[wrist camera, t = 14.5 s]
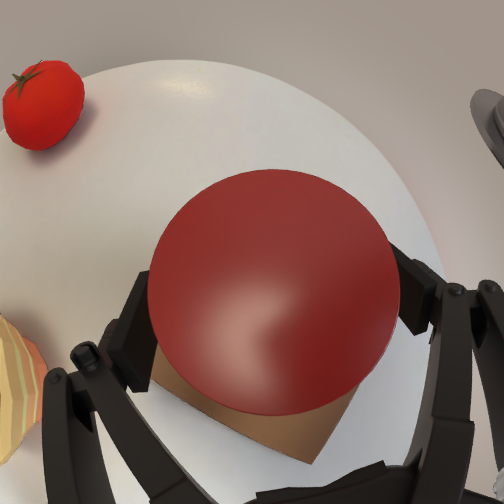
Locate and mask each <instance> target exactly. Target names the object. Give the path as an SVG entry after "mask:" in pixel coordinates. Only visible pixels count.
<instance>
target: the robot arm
mask: <svg viewBox="0 0 504 504" xmlns="http://www.w3.org/2000/svg"><path fill="white" fill-rule="evenodd" d="M493 115H494V119H495V122H496V124H497V127H498V129H499V131H500V132H501V134H502V136H503V138H504V97H503V98H501V99H500V100H499V101H498V102H497V104H496V105H495V107H494V109H493ZM389 243H390V242H389ZM390 245H391V248H392V251H393V253H394V256H395V259H396V263H397V268H398V273H399V280H400V306H399V312H398V316H399V317H400V319H401V320H402V321H403V322H404V324H405V325H406V326H407V327H408V329H409V330H410V331H411V333H412V334H413V335H414V336H416V335H418V334H421V333H423V332H426V331H427V328H428V324H429V321H430V323H431V324H432V325H433V330H432V334H431V337H430V341H429V344H431V346H430V354H429V362H428V368H427V375H426V381H425V386H424V392H423V397H422V402H421V407H420V411H419V415H418V420H417V424H416V428H415V432H414V435H413V439H412V443H411V446H410V449H409V452H408V455H407V457H406V459H405V461H404V463H403V466H402V465H389V466H385V463H384V461H383V460H382V461H379V462H377V463H374V464H371V465H368V466H366V467H363V468H360V469H357V470H354V471H352V472H350V473H349V474H347V475H345V476H343V477H342V478H340V479H338V480H336V481H334V482H332V483H330V484H328V485H326V486H324V487H287V488H281V489H276V490H269V491H262V492H256V497H257V498H256V499H253V500H251V501H248V502H246V503H244V504H504V292H503V290H502V289H501V287H500V286H499V285H498V284H497V283H496V282H494V281H491V280H482V281H481V282H479V285H478V289H477V290H466V288H465V287H464V286H462V285H460V284H457V283H447V282H446V281H444V280H443V279H442V278H441V277H440V276H439V275H438V274H436V273H435V272H433V270H432V269H430V268H429V267H428V266H427V265H426V264H424V263H423V262H421V261H419V260H416V259H413V260H411V259H410V258H409V257H407V256H406V255H405V254H404V253H403V252H401V251H400V250H399V249H398V248H397V247H395V246H394V245H393V244H392V243H390ZM148 277H149V270H148V271H143V272H140V273H139V275H138V277H137V279H136V281H135V284H134V286H133V288H132V290H131V292H130V294H129V297H128V299H127V301H126V303H125V305H124V308H123V310H122V312H121V314H120V317H119V318H118V319H113V320H112V321H111V322H110V323H109V324H108V325H107V327H106V329H105V331H104V334H103V336H102V339H101V340H100V342H99V345H98V347H96V345H95V344H94V343H93V342H90V341H86V342H83V343H80V344H78V345H77V346H76V347H75V348H74V349H73V350H72V351H71V354H70V359H71V360H72V362H73V363H74V365H75V366H76V368H77V369H78V370H79V371H76V372H73V373H70V374H67V372H66V371H65V370H64V369H63V368H60V367H58V368H54V369H52V370H50V371H49V372H48V373H47V374H46V376H45V377H44V381H43V397H42V449H43V465H44V475H45V484H46V492H47V498H48V504H116V503H115V499H114V496H113V493H112V490H111V486H110V483H109V479H108V475H107V472H106V468H105V464H104V460H103V455H102V451H101V446H100V441H99V436H98V431H97V426H96V420H95V414H94V411H97V412H98V414H99V416H100V418H101V420H102V422H103V424H104V426H105V428H106V430H107V431H108V433H109V435H110V437H111V439H112V440H113V442H114V444H115V446H116V447H117V449H118V451H119V453H120V454H121V456H122V457H123V459H124V461H125V462H126V464H127V466H128V467H129V469H130V470H131V472H132V473H133V475H134V476H135V478H136V479H137V481H138V482H139V484H140V485H141V486H142V488H143V489H144V491H145V492H146V493H147V495H148V496H149V498H150V501H149V503H150V504H219V503H217V502H216V501H215V500H214V499H213V498H212V497H211V496H210V495H209V494H208V493H207V492H206V491H205V490H204V489H203V488H202V487H201V486H200V485H199V484H198V483H197V482H196V481H195V480H194V479H193V477H192V476H191V475H190V474H189V473H188V472H187V471H186V470H185V469H184V468H183V466H182V465H181V464H180V463H179V462H178V461H177V459H176V458H175V457H174V456H173V455H172V454H171V452H170V451H169V450H168V449H167V447H166V446H165V445H164V444H163V443H162V441H161V440H160V439H159V437H158V436H157V435H156V434H155V432H154V431H153V430H152V428H151V427H150V426H149V424H148V423H147V422H146V420H145V419H144V417H143V416H142V415H141V413H140V412H139V410H138V409H137V407H136V406H135V405H134V403H133V402H132V400H131V399H130V397H129V396H128V394H127V393H126V389H127V385H128V386H129V388H130V389H131V391H132V392H133V393H137V392H148V387H149V382H150V377H151V372H152V367H153V363H154V358H155V353H156V349H157V344H158V341H157V338H156V336H155V333H154V331H153V327H152V323H151V320H150V316H149V308H148V300H147V294H148ZM472 349H473V352H474V356H475V359H476V363H477V366H478V370H479V374H480V377H481V381H482V385H483V390H484V394H485V398H486V404H487V408H488V414H489V419H490V424H491V431H492V439H493V447H494V453H495V460H496V464H497V468H498V472H499V473H498V475H497V478H496V482H495V483H494V485H493V491H494V493H495V494H496V498H495V499H494V498H491V497H488V496H484V495H482V494H479V493H476V492H473V491H470V490H467V489H465V488H464V487H465V483H466V478H467V473H468V468H469V463H470V458H471V452H472V445H473V438H474V430H475V427H474V426H475V424H474V421H470V406H471V391H472Z"/></svg>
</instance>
